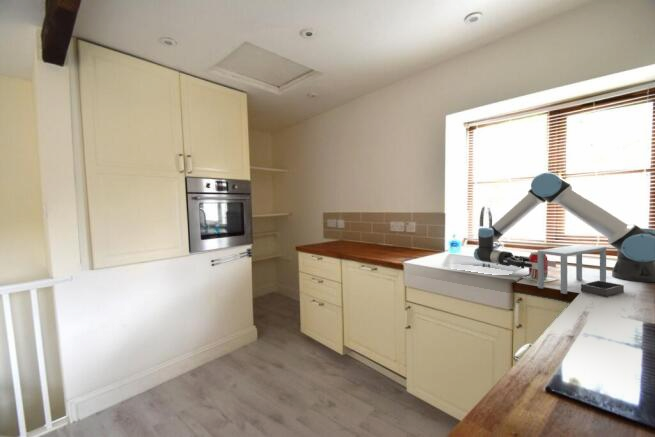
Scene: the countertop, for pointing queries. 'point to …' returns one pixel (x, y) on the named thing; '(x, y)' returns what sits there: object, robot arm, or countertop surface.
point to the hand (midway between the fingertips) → (547, 265)
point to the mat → (544, 279)
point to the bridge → (565, 252)
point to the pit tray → (602, 288)
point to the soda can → (534, 259)
